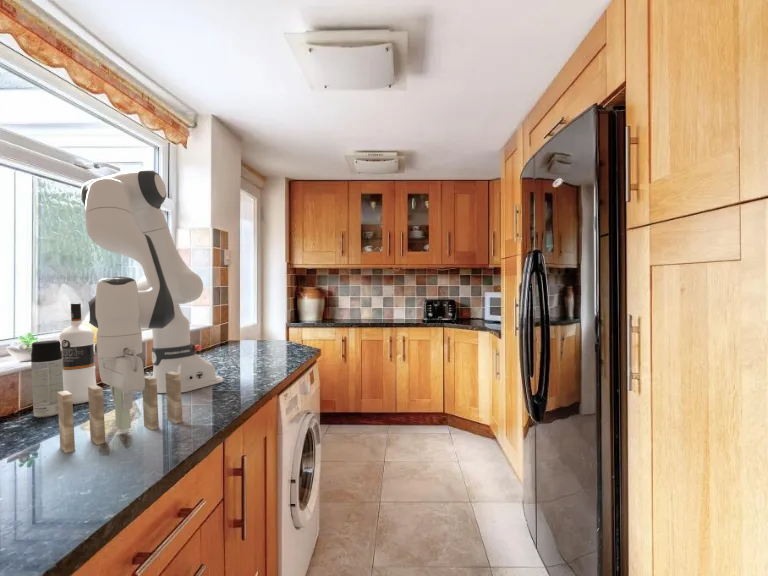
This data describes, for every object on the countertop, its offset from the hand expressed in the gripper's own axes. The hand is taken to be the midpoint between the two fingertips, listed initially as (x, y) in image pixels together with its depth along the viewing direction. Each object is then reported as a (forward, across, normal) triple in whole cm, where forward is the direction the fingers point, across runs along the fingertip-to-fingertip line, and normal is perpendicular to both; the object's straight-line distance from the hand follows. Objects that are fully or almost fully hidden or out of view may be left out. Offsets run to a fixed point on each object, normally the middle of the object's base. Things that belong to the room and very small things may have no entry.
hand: (122, 406), depth 97 cm
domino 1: (+6, 0, +11) cm, 12 cm away
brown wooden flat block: (+6, 0, +5) cm, 8 cm away
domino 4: (+6, 0, -6) cm, 9 cm away
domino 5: (+6, 0, -11) cm, 13 cm away
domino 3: (+5, 0, 0) cm, 5 cm away
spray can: (+7, +36, +8) cm, 37 cm away
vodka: (+7, +45, -1) cm, 45 cm away
